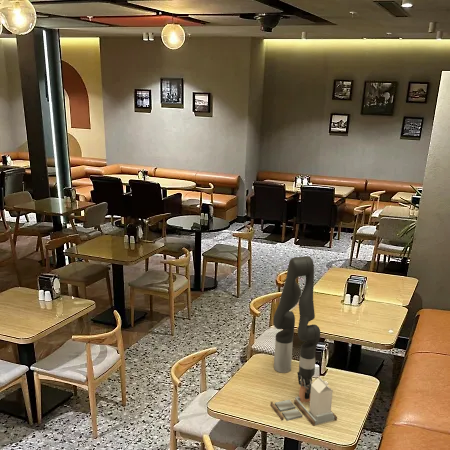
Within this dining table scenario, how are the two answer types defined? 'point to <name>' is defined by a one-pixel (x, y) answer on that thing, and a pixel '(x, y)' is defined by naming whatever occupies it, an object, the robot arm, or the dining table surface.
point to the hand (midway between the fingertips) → (305, 396)
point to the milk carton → (320, 397)
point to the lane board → (292, 411)
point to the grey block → (319, 418)
